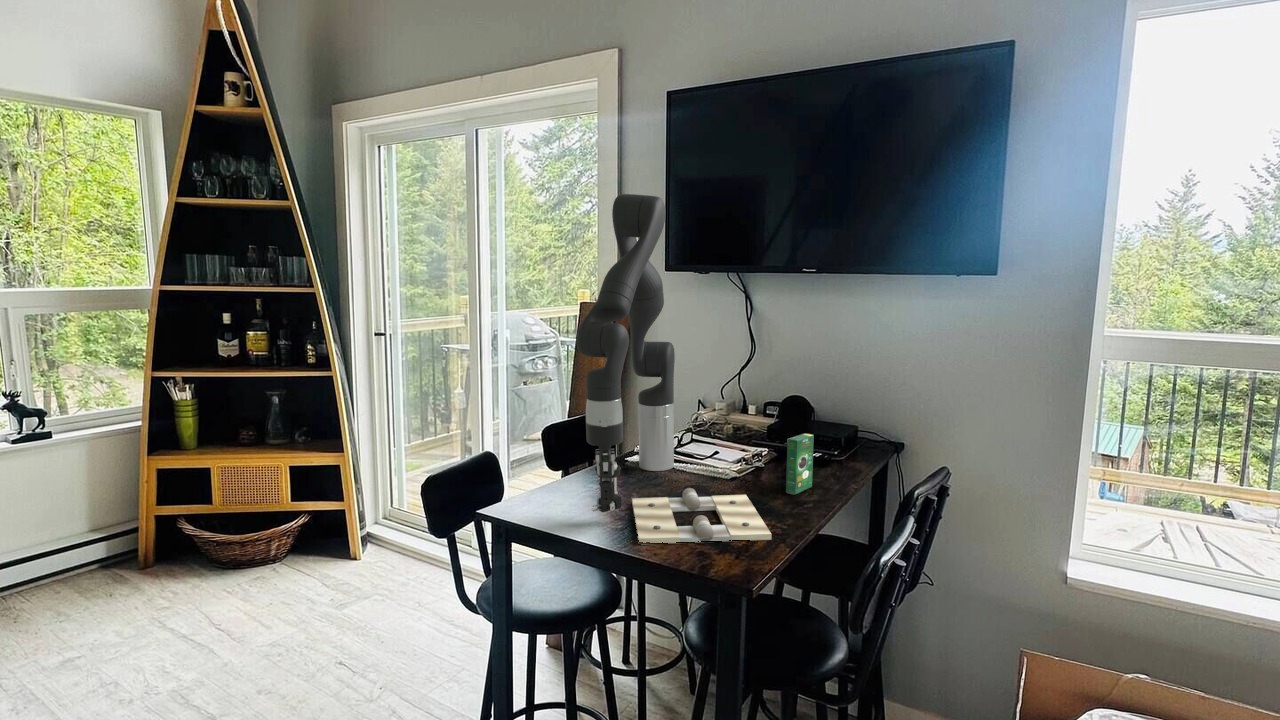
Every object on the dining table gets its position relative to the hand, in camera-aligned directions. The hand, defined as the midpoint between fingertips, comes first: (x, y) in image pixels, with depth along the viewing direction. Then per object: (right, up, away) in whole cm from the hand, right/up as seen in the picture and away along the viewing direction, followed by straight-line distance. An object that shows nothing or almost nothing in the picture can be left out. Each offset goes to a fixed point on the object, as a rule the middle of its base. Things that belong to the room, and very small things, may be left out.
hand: (606, 499), depth 147 cm
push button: (0, -2, 0) cm, 2 cm away
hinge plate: (+19, -5, +2) cm, 20 cm away
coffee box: (+45, -2, +20) cm, 49 cm away
